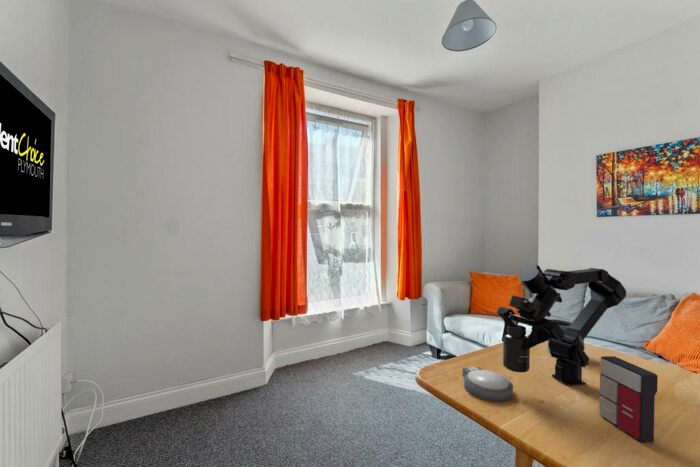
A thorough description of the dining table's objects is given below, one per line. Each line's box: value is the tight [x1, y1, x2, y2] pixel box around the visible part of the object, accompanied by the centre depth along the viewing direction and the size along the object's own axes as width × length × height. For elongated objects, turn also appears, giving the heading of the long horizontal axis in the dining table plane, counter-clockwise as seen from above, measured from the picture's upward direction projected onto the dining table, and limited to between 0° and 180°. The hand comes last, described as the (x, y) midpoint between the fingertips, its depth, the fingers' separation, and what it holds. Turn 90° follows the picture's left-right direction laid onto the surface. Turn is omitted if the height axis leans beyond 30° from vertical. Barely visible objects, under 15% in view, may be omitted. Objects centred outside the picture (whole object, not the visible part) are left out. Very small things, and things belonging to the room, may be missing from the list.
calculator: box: [598, 355, 658, 443], centre depth 76 cm, size 11×4×15 cm, turn 5°
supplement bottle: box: [502, 324, 531, 373], centre depth 93 cm, size 7×7×12 cm
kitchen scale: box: [462, 366, 514, 403], centre depth 95 cm, size 13×16×4 cm
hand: (512, 345), depth 92 cm, fingers closed on supplement bottle, 7 cm apart
